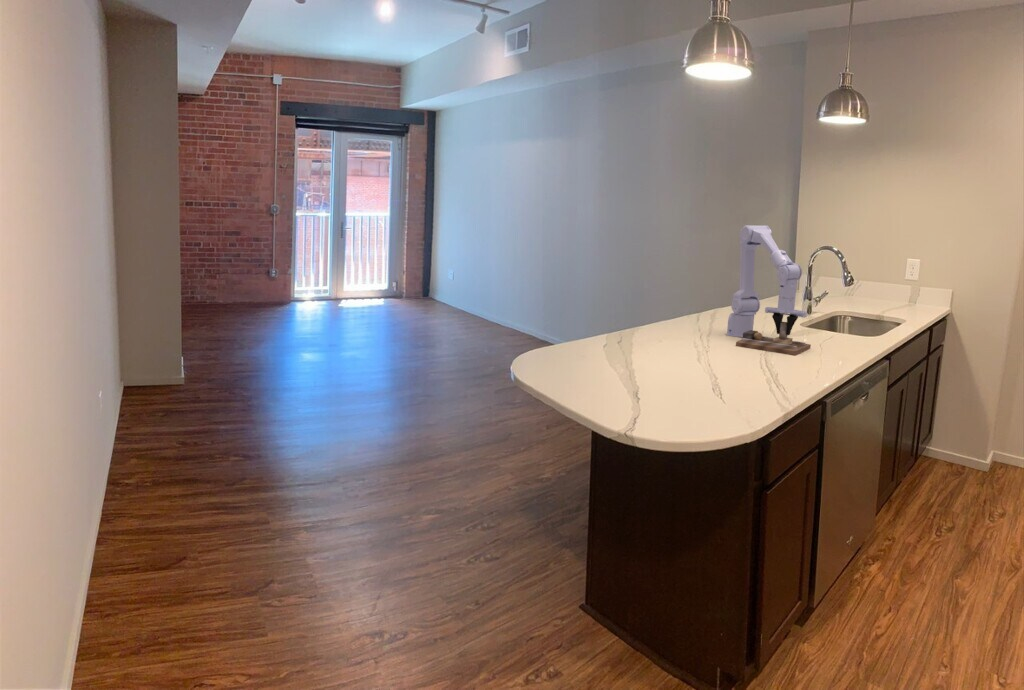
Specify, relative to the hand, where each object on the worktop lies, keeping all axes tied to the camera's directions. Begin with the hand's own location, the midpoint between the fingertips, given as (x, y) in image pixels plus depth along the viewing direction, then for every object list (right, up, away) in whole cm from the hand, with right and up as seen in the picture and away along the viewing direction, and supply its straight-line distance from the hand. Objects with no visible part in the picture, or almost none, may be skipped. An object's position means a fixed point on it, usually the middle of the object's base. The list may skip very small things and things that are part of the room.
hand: (783, 334), depth 265 cm
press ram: (0, -4, +1) cm, 4 cm away
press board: (-3, -5, +3) cm, 6 cm away
